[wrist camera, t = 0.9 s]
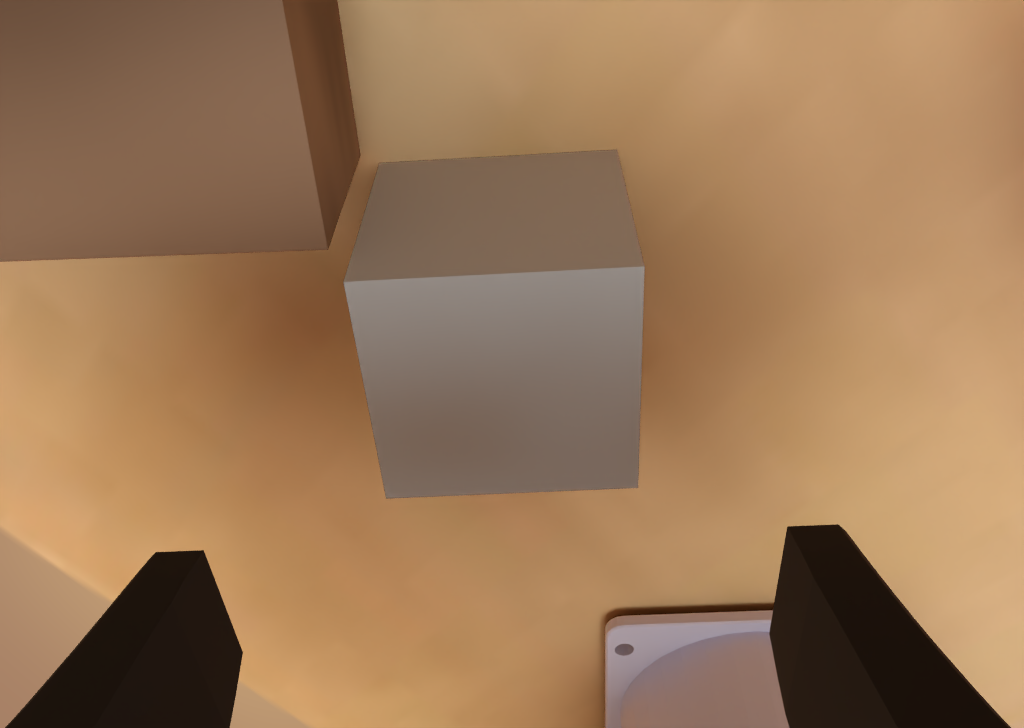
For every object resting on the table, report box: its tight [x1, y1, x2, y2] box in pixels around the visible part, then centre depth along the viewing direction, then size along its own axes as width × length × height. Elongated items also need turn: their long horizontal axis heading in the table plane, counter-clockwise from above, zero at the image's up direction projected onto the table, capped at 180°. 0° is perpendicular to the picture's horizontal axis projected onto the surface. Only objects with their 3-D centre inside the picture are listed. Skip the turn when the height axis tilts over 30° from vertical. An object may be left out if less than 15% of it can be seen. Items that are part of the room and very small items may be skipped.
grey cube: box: [344, 150, 645, 499], centre depth 17 cm, size 4×4×4 cm
